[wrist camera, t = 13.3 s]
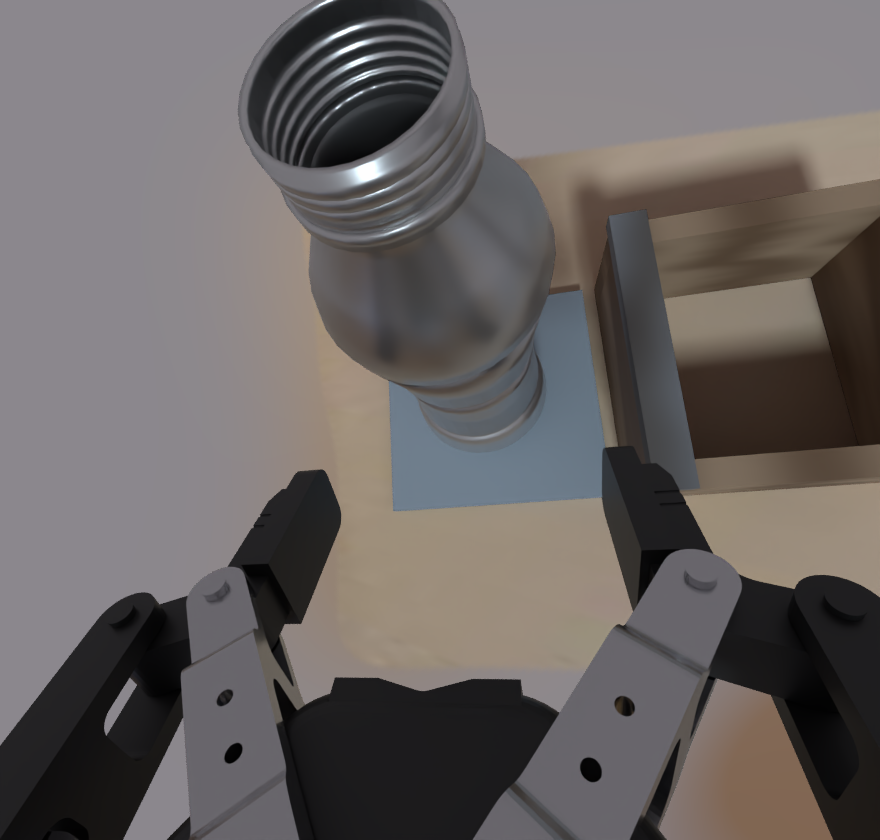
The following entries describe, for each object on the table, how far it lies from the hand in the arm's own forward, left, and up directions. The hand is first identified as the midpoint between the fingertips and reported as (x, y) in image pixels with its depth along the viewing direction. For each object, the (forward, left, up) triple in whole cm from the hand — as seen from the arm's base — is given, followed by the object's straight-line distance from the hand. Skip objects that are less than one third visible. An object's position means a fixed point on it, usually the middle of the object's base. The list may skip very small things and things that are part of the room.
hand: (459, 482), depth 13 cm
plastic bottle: (0, -6, -12) cm, 14 cm away
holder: (-13, -6, -13) cm, 19 cm away
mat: (0, -6, -13) cm, 14 cm away
